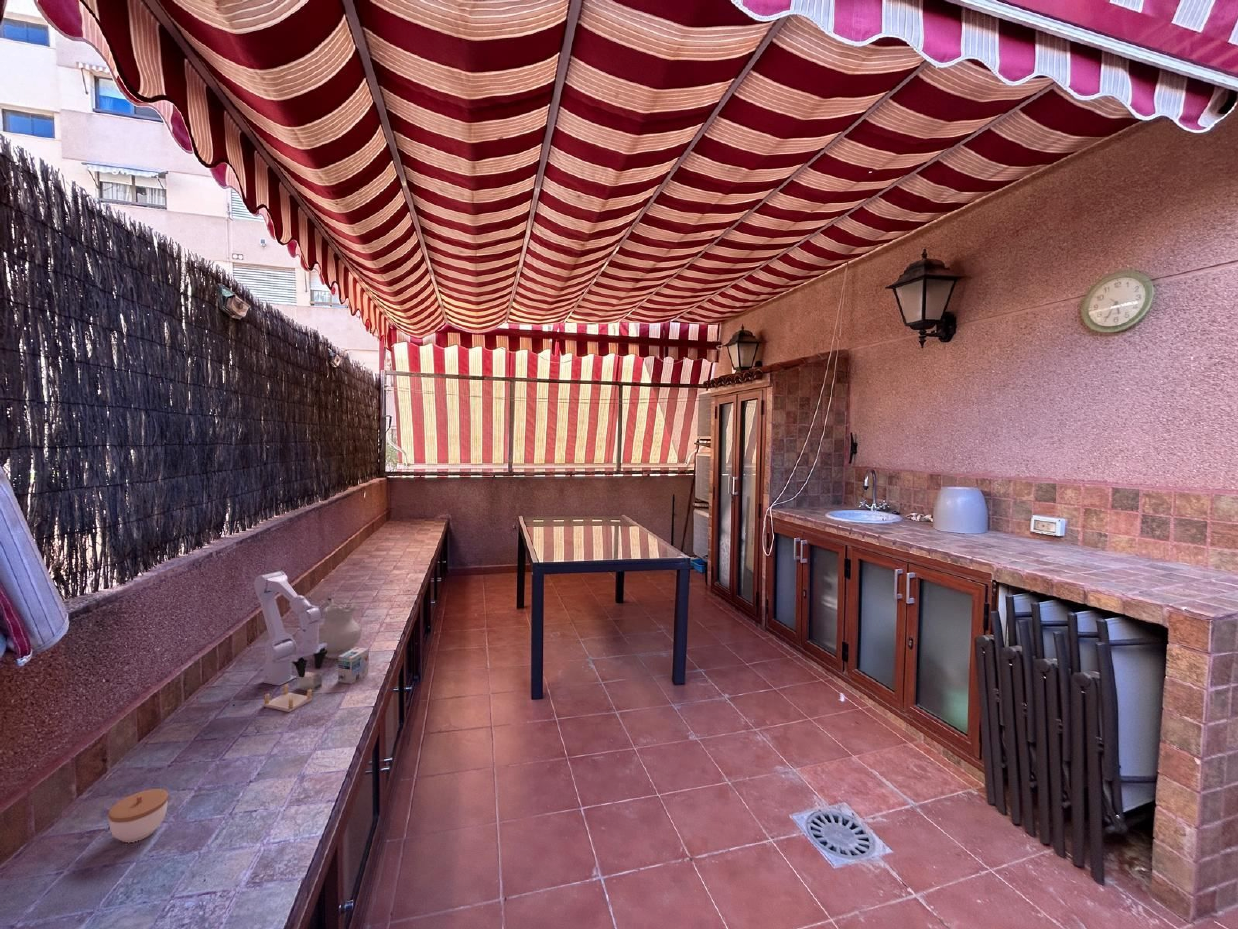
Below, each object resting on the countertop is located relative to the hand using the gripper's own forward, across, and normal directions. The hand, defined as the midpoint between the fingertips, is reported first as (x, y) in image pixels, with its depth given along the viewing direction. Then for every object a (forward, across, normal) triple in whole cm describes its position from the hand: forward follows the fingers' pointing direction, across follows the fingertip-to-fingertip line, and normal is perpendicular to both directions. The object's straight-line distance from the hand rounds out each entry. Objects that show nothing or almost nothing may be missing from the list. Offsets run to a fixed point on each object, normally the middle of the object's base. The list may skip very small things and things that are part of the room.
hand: (310, 672), depth 204 cm
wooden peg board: (+6, -12, -3) cm, 14 cm away
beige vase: (+6, +31, +18) cm, 36 cm away
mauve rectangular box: (+6, 0, 0) cm, 6 cm away
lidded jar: (+6, -73, -26) cm, 78 cm away
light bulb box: (+6, +13, -9) cm, 17 cm away
